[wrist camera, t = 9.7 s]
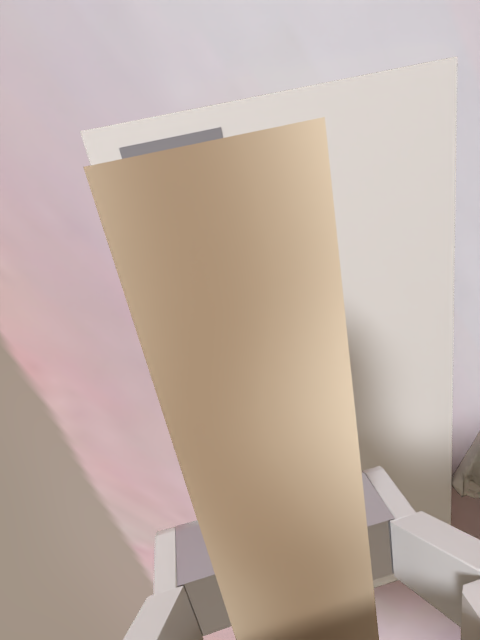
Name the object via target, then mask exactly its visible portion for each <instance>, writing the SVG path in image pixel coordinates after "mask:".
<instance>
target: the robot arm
mask: <svg viewBox="0 0 480 640" xmlns="http://www.w3.org/2000/svg"><path fill="white" fill-rule="evenodd" d="M362 481H363V491H364V500H365V510H366V519H367V529H368V539H369V548H370V558H371V568H372V577H373V580H375V579H379V578H382V577H385V576H389V575H392V574H394V577H396V578H397V579H398V580H400V581H401V582H402V583H404V584H405V585H406V586H408V587H409V588H410V589H411V590H413V591H414V592H415V593H417V594H418V595H419V596H421V597H422V598H423V599H425V600H426V601H427V602H428V603H430V604H431V605H432V606H434V607H435V608H436V609H438V610H439V611H440V612H442V613H443V614H444V615H445V616H447V617H448V618H449V619H451V620H452V621H453V622H455V623H456V624H457V625H459V626H460V627H461V640H480V540H479V539H477V538H475V537H473V536H471V535H469V534H467V533H465V532H463V531H461V530H459V529H457V528H455V527H453V526H451V525H449V524H447V523H445V522H443V521H441V520H439V519H437V518H435V517H433V516H431V515H429V514H427V513H425V512H423V511H420V512H417V513H416V511H415V510H414V509H413V507H412V506H411V505H410V503H409V502H408V501H407V499H406V498H405V497H404V495H403V494H402V493H401V491H400V490H399V489H398V487H397V486H396V485H395V483H394V482H393V481H392V479H391V478H390V477H389V475H388V474H387V473H386V471H385V470H384V469H383V468H382V467H381V466H377V467H373V468H370V469H367V470H364V471H362ZM230 626H232V625H231V622H230V619H229V616H228V613H227V610H226V607H225V604H224V601H223V598H222V594H221V591H220V588H219V585H218V582H217V579H216V576H215V573H214V570H213V567H212V563H211V560H210V557H209V554H208V551H207V548H206V545H205V542H204V539H203V536H202V533H201V529H200V526H199V523H198V520H197V521H193V522H190V523H186V524H182V525H178V526H176V527H172V528H169V529H165V530H161V531H158V532H157V533H156V536H155V554H154V593H153V595H151V596H148V597H147V598H146V600H145V602H144V604H143V606H142V607H141V609H140V611H139V612H138V614H137V616H136V618H135V619H134V622H133V623H132V625H131V627H130V628H129V630H128V632H127V633H126V635H125V637H124V639H123V640H203V637H202V636H205V635H208V634H211V633H213V632H216V631H219V630H222V629H225V628H227V627H230Z"/></svg>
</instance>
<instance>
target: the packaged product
mask: <svg viewBox="0 0 480 640" xmlns="http://www.w3.org/2000/svg"><path fill="white" fill-rule="evenodd" d="M451 485H452V486H453V487H454V489H455V490H456V491H457V492H458V493H459V494H460V495H461V496H462V497H463V496H466V495H468V496H470V497H472V498H480V431H479V433H478V435H477V436H476V438H475V440H474V442H473V444H472V445H471V447H470V448H469V450H468V451H467V453H466V455H465V456H464V458H463V460H462V462H461V463H460V465H459V467H458V468H457V470H456V472H455V473H454V475H453V477H452V482H451Z"/></svg>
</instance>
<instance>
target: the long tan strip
mask: <svg viewBox="0 0 480 640" xmlns="http://www.w3.org/2000/svg"><path fill="white" fill-rule="evenodd" d="M84 170H85V173H86V176H87V180H88V183H89V186H90V189H91V192H92V195H93V198H94V201H95V204H96V207H97V211H98V214H99V217H100V220H101V223H102V226H103V229H104V232H105V235H106V238H107V242H108V245H109V248H110V251H111V254H112V257H113V260H114V263H115V266H116V269H117V272H118V276H119V279H120V282H121V285H122V288H123V291H124V294H125V297H126V300H127V303H128V307H129V310H130V313H131V316H132V319H133V322H134V325H135V328H136V331H137V334H138V337H139V341H140V344H141V347H142V350H143V353H144V356H145V359H146V362H147V365H148V368H149V372H150V375H151V378H152V381H153V384H154V387H155V390H156V393H157V396H158V399H159V402H160V406H161V409H162V412H163V415H164V418H165V421H166V424H167V427H168V430H169V433H170V437H171V440H172V443H173V446H174V449H175V452H176V455H177V458H178V461H179V464H180V467H181V471H182V474H183V477H184V480H185V483H186V486H187V489H188V492H189V495H190V498H191V502H192V505H193V508H194V511H195V514H196V517H197V520H198V523H199V526H200V529H201V533H202V536H203V539H204V542H205V545H206V548H207V551H208V554H209V557H210V560H211V563H212V567H213V570H214V573H215V576H216V579H217V582H218V585H219V588H220V591H221V594H222V598H223V601H224V604H225V607H226V610H227V613H228V616H229V619H230V622H231V625H232V628H233V632H234V635H235V638H236V640H379V635H378V625H377V616H376V606H375V597H374V587H373V577H372V568H371V558H370V548H369V539H368V529H367V519H366V510H365V500H364V491H363V481H362V471H361V462H360V452H359V442H358V433H357V423H356V413H355V404H354V394H353V384H352V375H351V365H350V356H349V346H348V336H347V327H346V317H345V307H344V298H343V288H342V278H341V269H340V259H339V250H338V240H337V230H336V221H335V211H334V201H333V192H332V182H331V172H330V163H329V153H328V144H327V134H326V124H325V117H322V118H317V119H312V120H307V121H303V122H298V123H293V124H288V125H283V126H279V127H274V128H269V129H264V130H259V131H254V132H250V133H245V134H240V135H235V136H230V137H226V138H221V139H216V140H211V141H206V142H201V143H197V144H192V145H187V146H182V147H177V148H173V149H168V150H163V151H158V152H153V153H148V154H144V155H139V156H134V157H129V158H124V159H120V160H115V161H110V162H105V163H100V164H95V165H91V166H86V167H84Z"/></svg>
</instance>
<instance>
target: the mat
mask: <svg viewBox="0 0 480 640" xmlns="http://www.w3.org/2000/svg"><path fill="white" fill-rule="evenodd" d="M322 117H325V124H326V134H327V144H328V153H329V163H330V172H331V182H332V192H333V201H334V211H335V221H336V230H337V240H338V250H339V259H340V269H341V278H342V288H343V298H344V307H345V317H346V327H347V336H348V346H349V356H350V365H351V375H352V384H353V394H354V404H355V413H356V423H357V433H358V442H359V452H360V462H361V471H364V470H367V469H370V468H373V467H377V466H381V467H382V468H383V469H384V470H385V471H386V473H387V474H388V475H389V477H390V478H391V479H392V481H393V482H394V483H395V485H396V486H397V487H398V489H399V490H400V491H401V493H402V494H403V495H404V497H405V498H406V499H407V501H408V502H409V503H410V505H411V506H412V507H413V509H414V510H415V511H416V513H417V512H420V511H423V512H425V513H427V514H429V515H431V516H433V517H435V518H437V519H439V520H441V521H443V522H445V523H447V524H449V525H451V482H452V409H453V336H454V263H455V190H456V117H457V56H456V57H451V58H446V59H441V60H436V61H431V62H426V63H421V64H416V65H411V66H406V67H401V68H396V69H391V70H386V71H381V72H376V73H371V74H366V75H361V76H356V77H351V78H346V79H341V80H336V81H331V82H326V83H321V84H316V85H311V86H306V87H301V88H296V89H291V90H286V91H280V92H275V93H270V94H265V95H260V96H255V97H250V98H245V99H240V100H235V101H230V102H225V103H220V104H215V105H210V106H205V107H200V108H195V109H190V110H185V111H180V112H175V113H170V114H165V115H160V116H155V117H150V118H145V119H140V120H135V121H130V122H125V123H120V124H115V125H110V126H105V127H100V128H95V129H90V130H85V131H80V133H81V136H82V139H83V143H84V146H85V149H86V152H87V155H88V158H89V162H90V165H95V164H100V163H105V162H110V161H115V160H120V159H124V158H129V157H134V156H139V155H144V154H148V153H153V152H158V151H163V150H168V149H173V148H177V147H182V146H187V145H192V144H197V143H201V142H206V141H211V140H216V139H221V138H226V137H230V136H235V135H240V134H245V133H250V132H254V131H259V130H264V129H269V128H274V127H279V126H283V125H288V124H293V123H298V122H303V121H307V120H312V119H317V118H322ZM397 580H398V579H397V578H396V577H394V574H392V575H389V576H385V577H382V578H379V579H375V580H373V587H374V588H375V587H378V586H381V585H384V584H388V583H391V582H394V581H397Z"/></svg>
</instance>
